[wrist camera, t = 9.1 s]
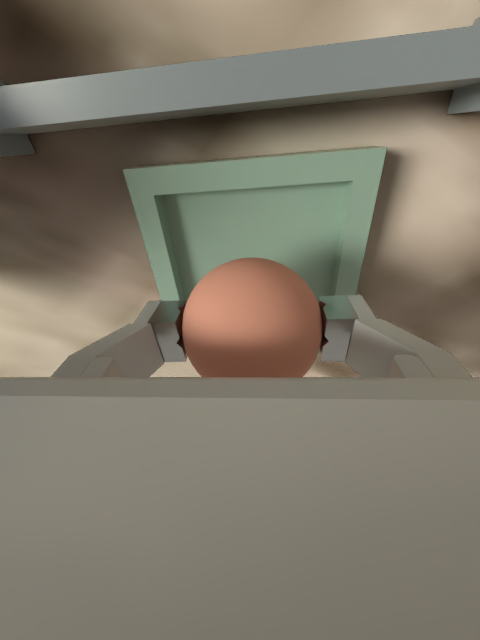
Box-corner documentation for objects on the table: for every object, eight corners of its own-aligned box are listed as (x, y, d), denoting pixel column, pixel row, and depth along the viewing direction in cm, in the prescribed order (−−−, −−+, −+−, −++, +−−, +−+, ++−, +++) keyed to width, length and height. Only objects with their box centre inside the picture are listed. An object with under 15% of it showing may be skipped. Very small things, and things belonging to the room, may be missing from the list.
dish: (137, 166, 11) (122, 169, 10) (372, 146, 10) (387, 146, 9) (183, 339, 17) (177, 354, 16) (337, 337, 16) (343, 353, 15)
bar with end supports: (-20, 83, 10) (-109, 67, 8) (509, 15, 8) (613, -36, 6) (15, 155, 12) (-51, 160, 9) (474, 111, 10) (547, 103, 7)
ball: (188, 241, 10) (139, 309, 6) (316, 234, 10) (353, 303, 6) (207, 337, 13) (182, 426, 9) (306, 336, 13) (326, 430, 9)
